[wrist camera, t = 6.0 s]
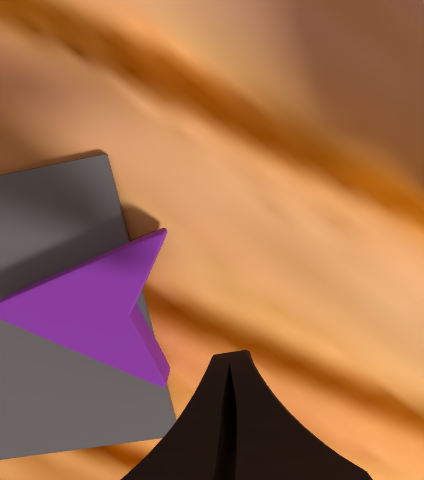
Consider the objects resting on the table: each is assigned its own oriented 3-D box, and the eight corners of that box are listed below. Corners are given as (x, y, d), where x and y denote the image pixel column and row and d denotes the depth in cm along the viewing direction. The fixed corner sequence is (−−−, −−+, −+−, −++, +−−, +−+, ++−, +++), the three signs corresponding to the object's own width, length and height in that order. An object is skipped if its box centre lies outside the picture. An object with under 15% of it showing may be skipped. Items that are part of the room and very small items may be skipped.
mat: (107, 154, 18) (104, 154, 17) (179, 430, 22) (178, 435, 21) (-132, 202, 19) (-140, 203, 18) (-19, 457, 23) (-23, 462, 22)
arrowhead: (244, 304, 19) (115, 177, 17) (247, 318, 17) (105, 180, 16) (128, 404, 21) (2, 298, 19) (121, 424, 19) (-17, 311, 18)
